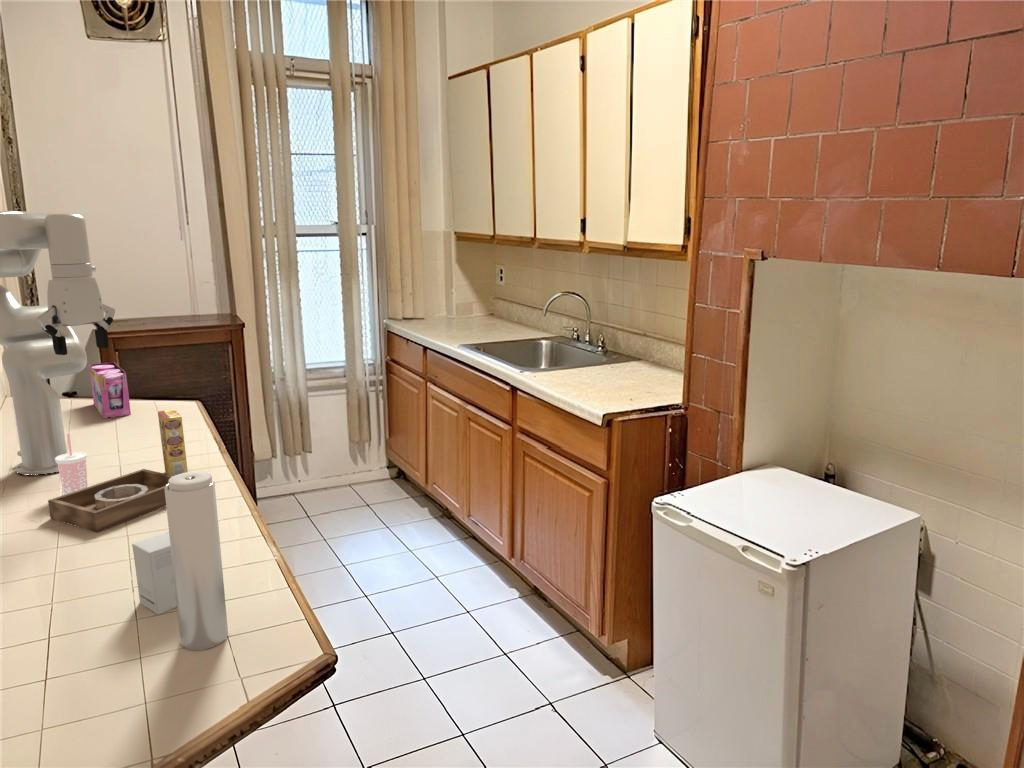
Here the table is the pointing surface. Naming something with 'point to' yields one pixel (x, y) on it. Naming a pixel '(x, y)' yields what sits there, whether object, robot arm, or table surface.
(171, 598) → the skincare box
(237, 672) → the table surface
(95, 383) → the gum box
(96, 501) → the socket ring
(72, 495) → the walnut box
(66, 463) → the beverage cup
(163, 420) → the candy box
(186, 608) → the white tall cylinder
